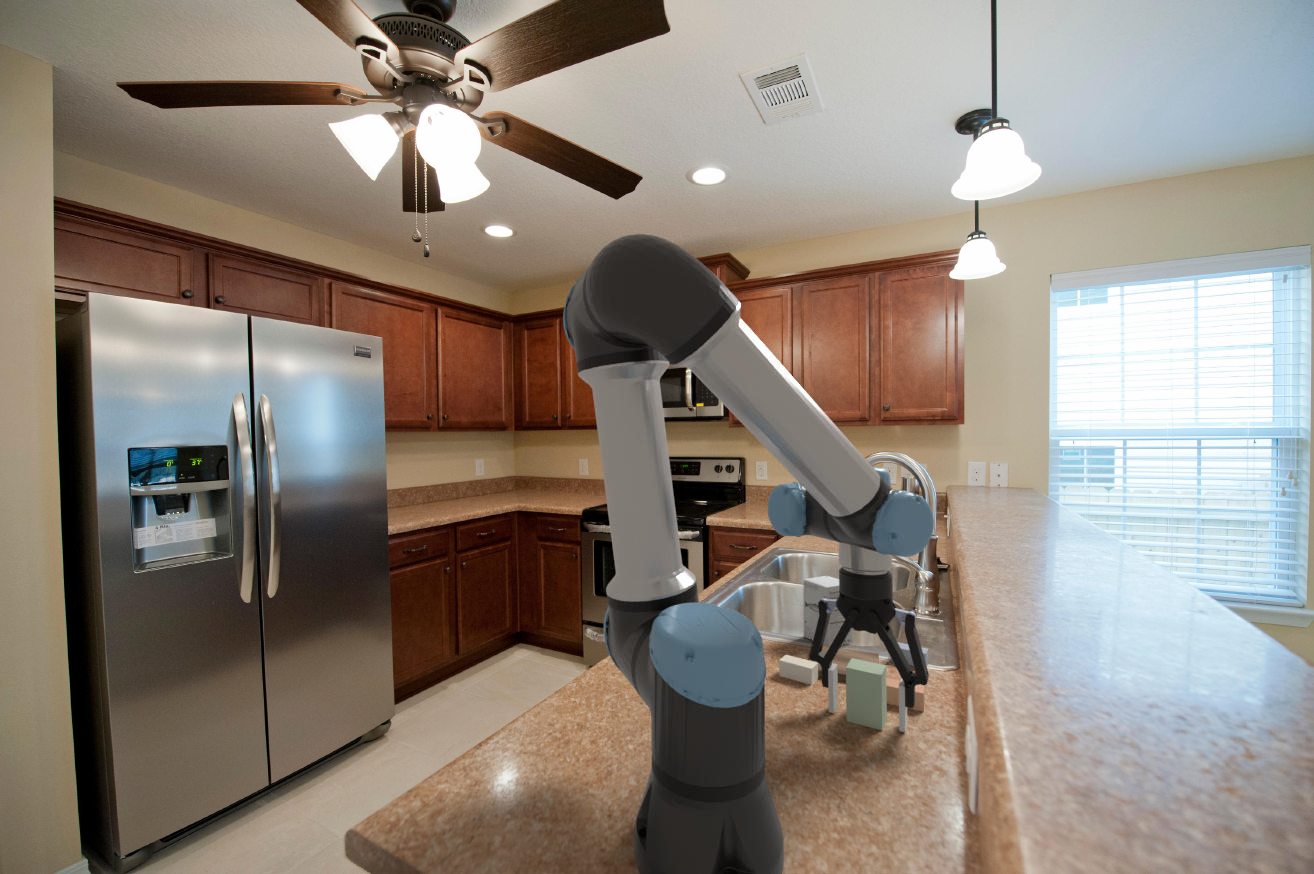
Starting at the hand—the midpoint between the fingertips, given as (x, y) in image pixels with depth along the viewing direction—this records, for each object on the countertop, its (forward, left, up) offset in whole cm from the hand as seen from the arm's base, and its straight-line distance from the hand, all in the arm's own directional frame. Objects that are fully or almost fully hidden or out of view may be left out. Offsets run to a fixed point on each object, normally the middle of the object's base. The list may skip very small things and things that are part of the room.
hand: (867, 717), depth 77 cm
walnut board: (+17, +7, 0) cm, 18 cm away
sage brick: (0, 0, 0) cm, 0 cm away
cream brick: (+8, +13, 0) cm, 15 cm away
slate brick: (+26, -3, 0) cm, 26 cm away
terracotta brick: (+8, -4, 0) cm, 9 cm away
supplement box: (+29, +13, 0) cm, 32 cm away
